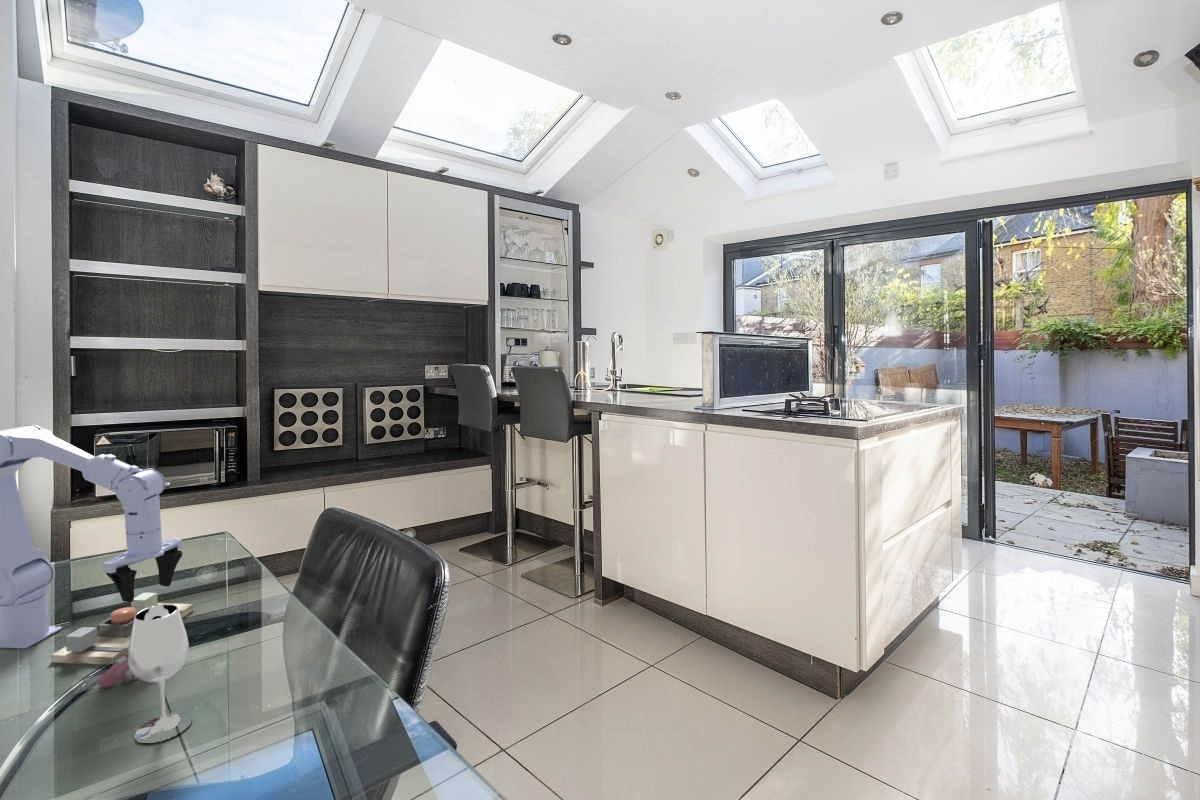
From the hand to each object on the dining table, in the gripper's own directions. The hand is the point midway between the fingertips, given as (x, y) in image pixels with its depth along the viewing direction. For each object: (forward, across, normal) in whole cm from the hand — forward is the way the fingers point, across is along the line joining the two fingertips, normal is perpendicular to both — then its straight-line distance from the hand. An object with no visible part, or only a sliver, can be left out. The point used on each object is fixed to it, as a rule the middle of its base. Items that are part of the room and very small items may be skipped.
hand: (147, 593), depth 121 cm
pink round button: (+7, -1, +5) cm, 9 cm away
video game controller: (+10, -10, -10) cm, 18 cm away
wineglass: (+10, -20, -30) cm, 37 cm away
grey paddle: (+8, -9, +5) cm, 13 cm away
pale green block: (+8, +6, +9) cm, 13 cm away
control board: (+10, 0, +6) cm, 11 cm away
